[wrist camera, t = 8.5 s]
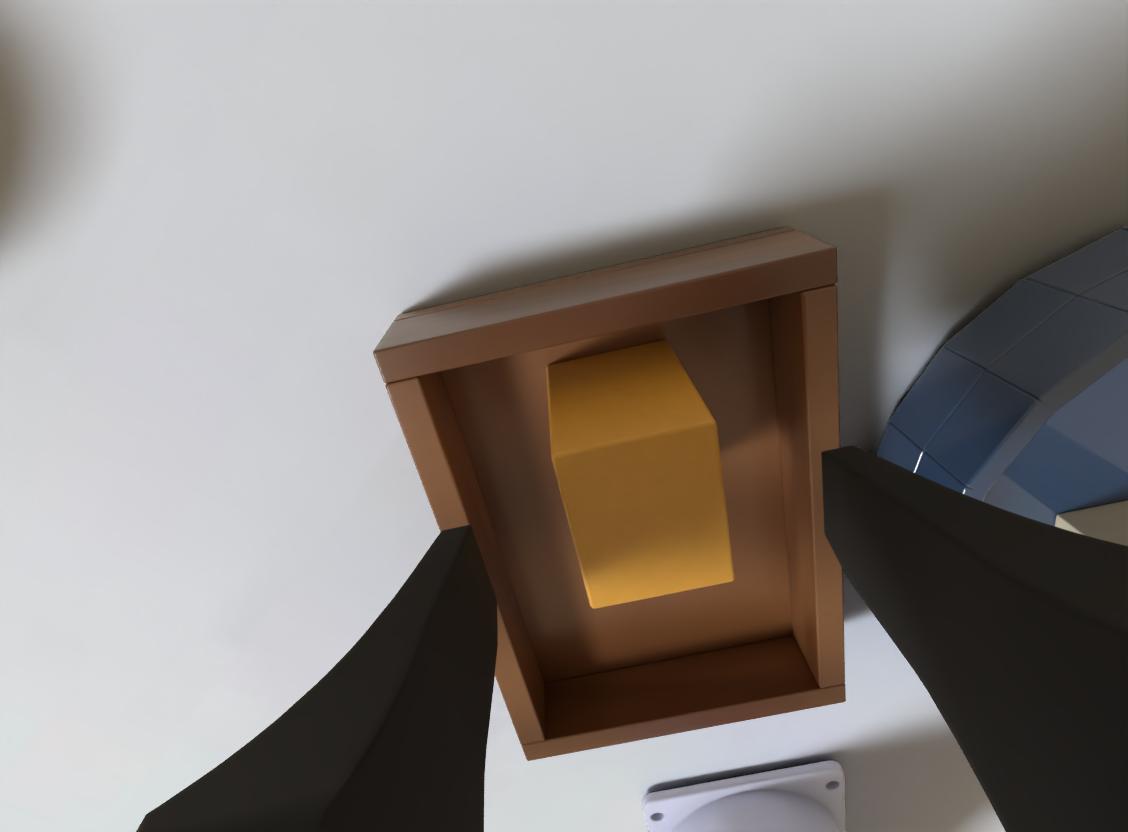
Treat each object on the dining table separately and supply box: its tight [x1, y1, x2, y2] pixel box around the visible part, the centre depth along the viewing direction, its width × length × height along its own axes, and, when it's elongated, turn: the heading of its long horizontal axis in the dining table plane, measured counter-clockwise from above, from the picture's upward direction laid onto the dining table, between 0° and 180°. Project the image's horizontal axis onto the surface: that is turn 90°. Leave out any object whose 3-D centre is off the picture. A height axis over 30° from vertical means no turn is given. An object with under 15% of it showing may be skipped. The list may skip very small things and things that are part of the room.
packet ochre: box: [546, 340, 735, 609], centre depth 15 cm, size 4×3×5 cm
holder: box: [373, 227, 846, 761], centre depth 17 cm, size 14×10×3 cm
